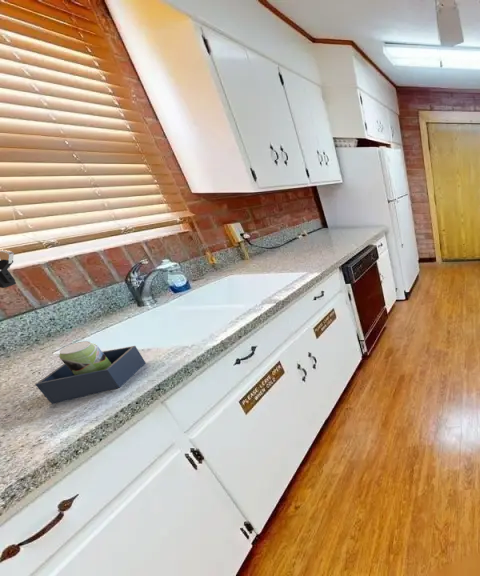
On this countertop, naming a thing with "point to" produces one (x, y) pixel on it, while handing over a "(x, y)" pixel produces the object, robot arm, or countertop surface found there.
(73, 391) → the bin
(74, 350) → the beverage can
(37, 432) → the countertop surface
